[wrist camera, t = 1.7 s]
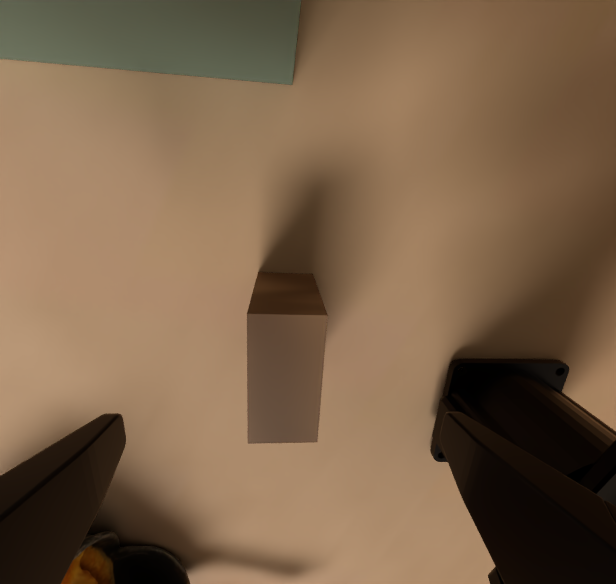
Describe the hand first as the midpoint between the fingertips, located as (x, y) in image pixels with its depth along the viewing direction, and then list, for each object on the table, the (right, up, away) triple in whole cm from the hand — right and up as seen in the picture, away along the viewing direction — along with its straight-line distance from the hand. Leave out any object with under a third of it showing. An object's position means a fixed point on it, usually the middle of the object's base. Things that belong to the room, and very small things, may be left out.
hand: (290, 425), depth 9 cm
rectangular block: (-1, +2, +7) cm, 7 cm away
